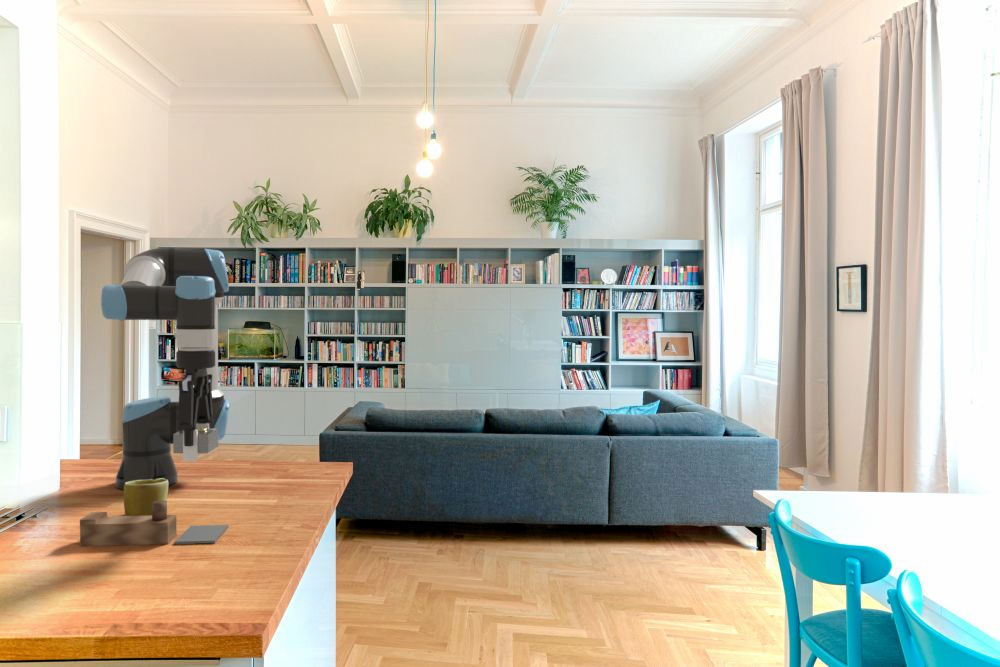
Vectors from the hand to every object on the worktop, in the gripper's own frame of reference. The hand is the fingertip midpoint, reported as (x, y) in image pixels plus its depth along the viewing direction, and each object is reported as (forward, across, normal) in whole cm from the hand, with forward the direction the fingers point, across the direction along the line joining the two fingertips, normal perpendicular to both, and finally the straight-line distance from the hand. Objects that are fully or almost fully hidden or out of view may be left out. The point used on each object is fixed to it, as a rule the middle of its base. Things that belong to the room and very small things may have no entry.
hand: (196, 456), depth 143 cm
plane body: (+17, +2, -13) cm, 22 cm away
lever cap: (-2, 0, 0) cm, 2 cm away
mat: (+17, 0, +1) cm, 17 cm away
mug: (+17, -17, -16) cm, 29 cm away
